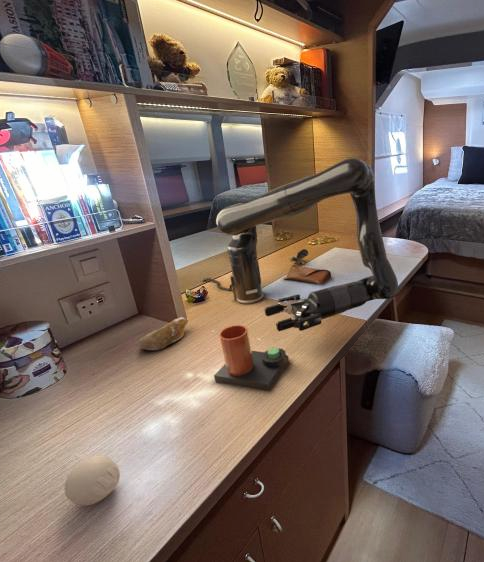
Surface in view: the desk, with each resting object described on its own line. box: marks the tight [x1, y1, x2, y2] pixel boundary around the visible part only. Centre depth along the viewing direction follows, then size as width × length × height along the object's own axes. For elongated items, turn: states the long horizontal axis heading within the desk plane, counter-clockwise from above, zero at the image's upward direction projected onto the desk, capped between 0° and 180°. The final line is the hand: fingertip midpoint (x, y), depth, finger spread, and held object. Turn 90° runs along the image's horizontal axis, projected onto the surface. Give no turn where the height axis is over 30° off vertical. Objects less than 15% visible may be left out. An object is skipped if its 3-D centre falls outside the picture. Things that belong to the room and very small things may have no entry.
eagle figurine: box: [289, 248, 309, 267], centre depth 150 cm, size 8×7×9 cm
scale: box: [213, 347, 290, 392], centre depth 82 cm, size 14×11×4 cm
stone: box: [135, 316, 189, 351], centre depth 96 cm, size 7×6×15 cm
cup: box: [218, 324, 254, 376], centre depth 80 cm, size 6×6×10 cm
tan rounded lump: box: [64, 455, 121, 507], centre depth 54 cm, size 7×7×7 cm
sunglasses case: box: [283, 264, 332, 285], centre depth 135 cm, size 18×7×7 cm, turn 66°
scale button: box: [267, 347, 280, 359], centre depth 83 cm, size 3×3×2 cm
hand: (270, 319), depth 82 cm, fingers open, 8 cm apart
